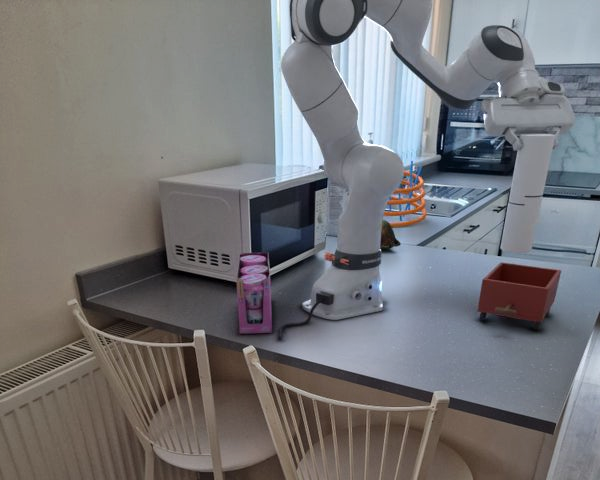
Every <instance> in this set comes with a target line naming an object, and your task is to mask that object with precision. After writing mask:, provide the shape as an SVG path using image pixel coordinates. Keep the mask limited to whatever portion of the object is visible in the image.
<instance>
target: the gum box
mask: <svg viewBox="0 0 600 480" xmlns="http://www.w3.org/2000/svg"><path fill="white" fill-rule="evenodd" d="M269 255H270V253H269V251H268V252H264V251H263V252H262V251H261V252H241V253H239V257H238V267H237V273H236V295H237V308H238V327H239V334H240V335H241V334H271V333H272V331H273V330H272V329H273V327H272V325H273V324H272V318H273V317H272V291H271V285H272V284H271V269H270V268H271V267H270V256H269Z"/></svg>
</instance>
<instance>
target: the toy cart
mask: <svg viewBox="0 0 600 480" xmlns="http://www.w3.org/2000/svg"><path fill="white" fill-rule="evenodd" d="M561 274H562V269H557V268H555V269H554V268H549V267H547V268H546V267H540V266H533V265H524V264H517V263H509V262H499V263H498V264H497V265H496V266H495V267H494V268H492V270H490V272H488V274H486V276H484V277H483V278H482V279H481V287H480V292H479V298H478V305H477V312H479V321H483V322H484V321H485V320H486V318H487V316H488V314H490V315H496V316H501V317H506V318H512V319H517V320H518V319H520V320H524V321H530V322H534V326H533V330H534V331H537V332H539V331H540V329H541V326H542V322H543V320H544V318H546V317H548V316H549V314H550V312H551V308H552V306H553V304H554V303H555V301H556V296H557V291H558V288H559V284H560V278H561Z"/></svg>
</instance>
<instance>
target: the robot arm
mask: <svg viewBox="0 0 600 480" xmlns="http://www.w3.org/2000/svg"><path fill="white" fill-rule="evenodd" d="M432 11H433V0H290V1H289V20H290V34H291V35H290V36H291V39H292V40H293V42H292V43H291V44H290V45H288V47H287V48H286V50H285V52H284V53H283V55H282V58H281V62H280V69H281V73H282V76H283V78H284V81H285V83H286V86H287V88H288V91H289V93H290V95H291V97H292V99H293V101H294V103H295V105H296V106H297V108H298V110H299V112H300V113H301V115H302V117H303V118H304V120H305V122H306V124H307V125H308V127H309V128H310V130H311V132H312V134H313V136H314V137H315V140H316V141H317V144H318V146H319V149H320V152H321V155H322V158H323V165H324V172H325V174H326V176H327V178H328V179H329V180H330V181H331V182H332V183H334V184H335V185H336V186H338V187H339V188H342V189H345V190H349V196H348V201H347V204H346V208H345V210H344V212H343V213H342V214H341V215H340V216H339V218H338V236H337V240H336V241H337V244H336V245H337V246H336V249H335V251H334V254H333V253H330V252H326V253H325V254H324V260H325V261H327V262H331V265H330V267H328V269H326V271H325V272H323V273H322V274H321V276H320V277H319V278H318V279H317V280H316V281H315V282H314V283H313V284H312V288H311V293H310V299H308V300H305V301H303V302H302V305H301V307H302V309H303V310H304V311H305V312H307V313H309V314H308V317H307V319H306V320H304V321H303V322H298V323H296V322H292V323H290V322H289V323H285V324H283V325H281V326H280V327H279V329H278V340H282V338H283V330H284V329H285V328H288V327H300V326H304V325H307V324H308V323H310V321H311V320H312V317H313V316H315V317H318V318H320V319H321V318H322V319H325V320H331V321H338V320H339V321H340V320H343V319H348V318H352V317H353V318H354V317H358V316H362V315H367V314H372V313H377V312H381V311H383V310H384V305H383V304H384V299H383V296H382V295H383V294H382V285H383V280H381V272H380V265H381V264H382V258H383V257H382V250H383V249H380V241H381V229H382V220H383V219H384V216H383V215H384V211H385V212H386V209H387V206H388V205H387V203H388V201H389V198H390V196H392V195H393V194H392V193H393V192H394V191H396V190H397V188H398V187H399V186H400V187H401V185H402V184H401V182H402V180H404V176H405V175H404V171H405V167H404V162H403V159H402V157H401V156H400V155H399V154H398V153H397V152H395V151H393V150H392V149H390V148H388V147H386V146H384V145H380V144H379V145H378V144H372V143H368V142H367V141H365V140H364V139H363V136H362V134H361V132H360V131H361V130H360V127H359V123H358V121H359V117H360V111H359V107H358V106H357V104H356V102H355V100H354V99H353V95H352V94H351V93H350V90H349V89H348V87H347V85H346V83H345V81H344V79H343V77H342V74H341V73H340V72H339V70H338V68H337V66H336V64H335V61H334V57H333V47H335V46H339V45H341V44H343V43H345V42H346V41H347V40H348V39H350V37H351V36H352V35H353V33H354V32H355V31H356V29H357V28H358V26H359V25H360V23H361V21H362V20H363V19H364V18H365V19H367V20H369V21H371V22H372V23H374V24H376V25H377V26H379V27H380V28H382V29H383V30H384V31H385V32H386V33H387V34H388V35H389V37H390V48H391V50H392V52H393V54H394V55H395V57H396V58H397V59H398V60H399V61H400V62H401V63H402V64H403V65H404V66H405V67H406V68H407V69H408V70H409V71H411V72H412V74H414V75H415V76H416V77H417V78H418V79H420V80H421V82H423V83H424V84H425V85H426V86H427V87H428V88H430V89H431V90H432V91H433V92H434V93H435V94H436V95H437V97H438V98H439V99H440V100H441V101H442V103H443V104H444V105H445V106H446V107H447V108H449V109H451V110H454V111H465V110H468V109H470V108H471V107H472V106H473V105H474V104H475V102H476V101H477V100H478V99H479V98H480V97H481V95H482V94H483V93H484V92H485V91H486V90H487V89H488V88H489V87H490V86H491V84H493V83H494V82H495V84H496V85H497V87H498V96H487V97H486V98H484V99H483V100H481V103H480V108H481V111H482V113H483V124H484V125H483V126H484V130H485V133H486V134H487V135H488V136H489V137H504V138H505V140H506V141H507V142H508V143H509V144H510V145H512V150H513V151H518V150H521V148H523V146H524V143H523V141H522V139H520V134H553V135H555V139H554V144H553V148H552V150H556V149H557V148H558V147H559V139H558V138H559V136H561V135H562V136H564V135H567V134H568V133H569V132H570V130H572V128H573V127H574V124H575V123H576V115H575V113H574V110H573V107H572V104H571V102H570V99H569V98H568V97H567V96H565V95H564V94H565V92H566V88H565V86H564V85H563V84H561V83H557V82H554V81H551V80H548V79H546V78H545V77H542V76H540V74H539V71H537V69H536V60H535V56H534V54H533V51H532V48H531V46H530V44H529V42H528V40H527V38H526V37H525V35H524V34H523V32H522V31H520V30H519V29H517V28H511V27H508V26H506V25H500V24H499V25H498V24H492V25H487V26H484V27H483V28H482V29H481V30H480V31H479V32H478V33H477V34H476V36H474V38H473V39H472V40H471V41H470V42H469V44H467V46H466V48H465V49H463V51H462V52H461V53H460V54H459V56H458V57H456V59H455V60H454V61H453V62H452V63H451V64H449V65H443V64H442V63H441V62H440V61H438V59H437V58H436V57H434V56H433V54H431V53H430V52H429V51H428V50H427V49H426V48H425V47H424V46H423V42H424V38H425V35H426V32H427V29H428V27H429V23H430V22H431V21H430V20H431V16H432Z"/></svg>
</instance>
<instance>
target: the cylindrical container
mask: <svg viewBox="0 0 600 480" xmlns="http://www.w3.org/2000/svg"><path fill="white" fill-rule="evenodd" d="M519 139H522V141H523V143H524V146H523V148H521V150H516V151H517V152H516V158H515V163H514V169H513V174H512V179H511V185H510V191H509V197H508V203H507V207H506V213H505V221H504V225H503V230H502V236H501V243H500V247H499V249H500V250H501V251H503V252H507V253H513V254H514V253H515V254H526V253H530V252H532V251H533V245H534V240H535V236H536V235H535V234H536V230H537V225H538V221H539V216H540V212H541V207H542V201H543V196H544V191H545V187H546V182H547V177H548V172H549V168H550V163H551V157H552V154H553V153H552V152H553V149H552V148H553V144H554V139H555V135H553V134H520V136H519Z"/></svg>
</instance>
